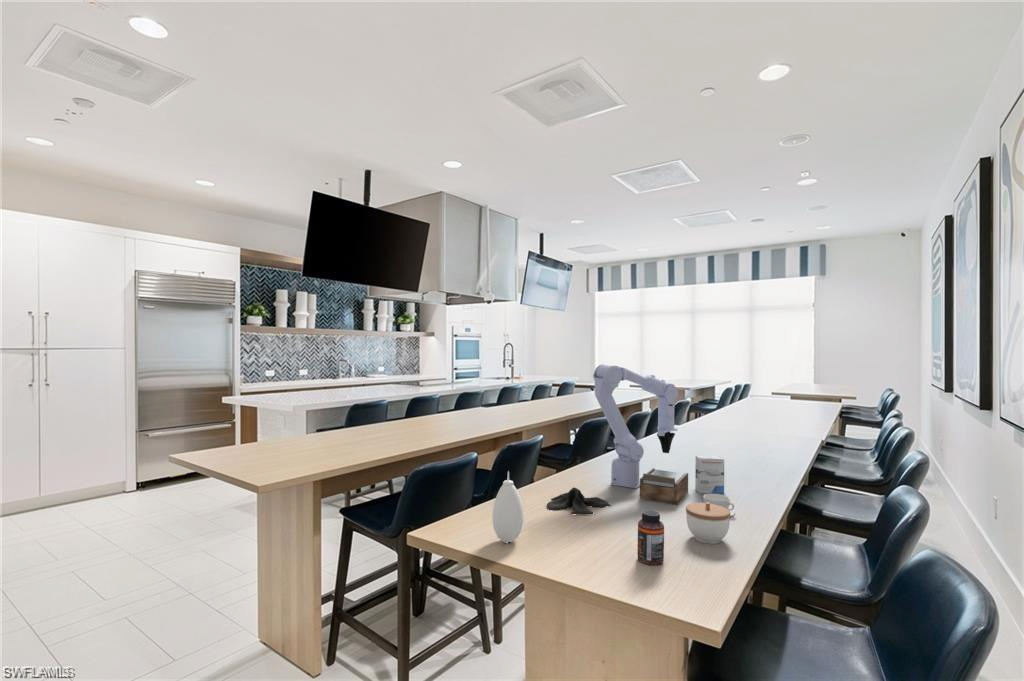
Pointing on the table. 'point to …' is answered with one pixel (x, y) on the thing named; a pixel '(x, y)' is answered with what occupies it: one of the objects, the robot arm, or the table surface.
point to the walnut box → (664, 491)
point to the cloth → (576, 502)
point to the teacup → (719, 501)
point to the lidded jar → (707, 521)
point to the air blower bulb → (507, 512)
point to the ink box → (709, 474)
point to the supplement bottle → (650, 538)
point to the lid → (662, 478)
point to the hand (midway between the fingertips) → (665, 452)
